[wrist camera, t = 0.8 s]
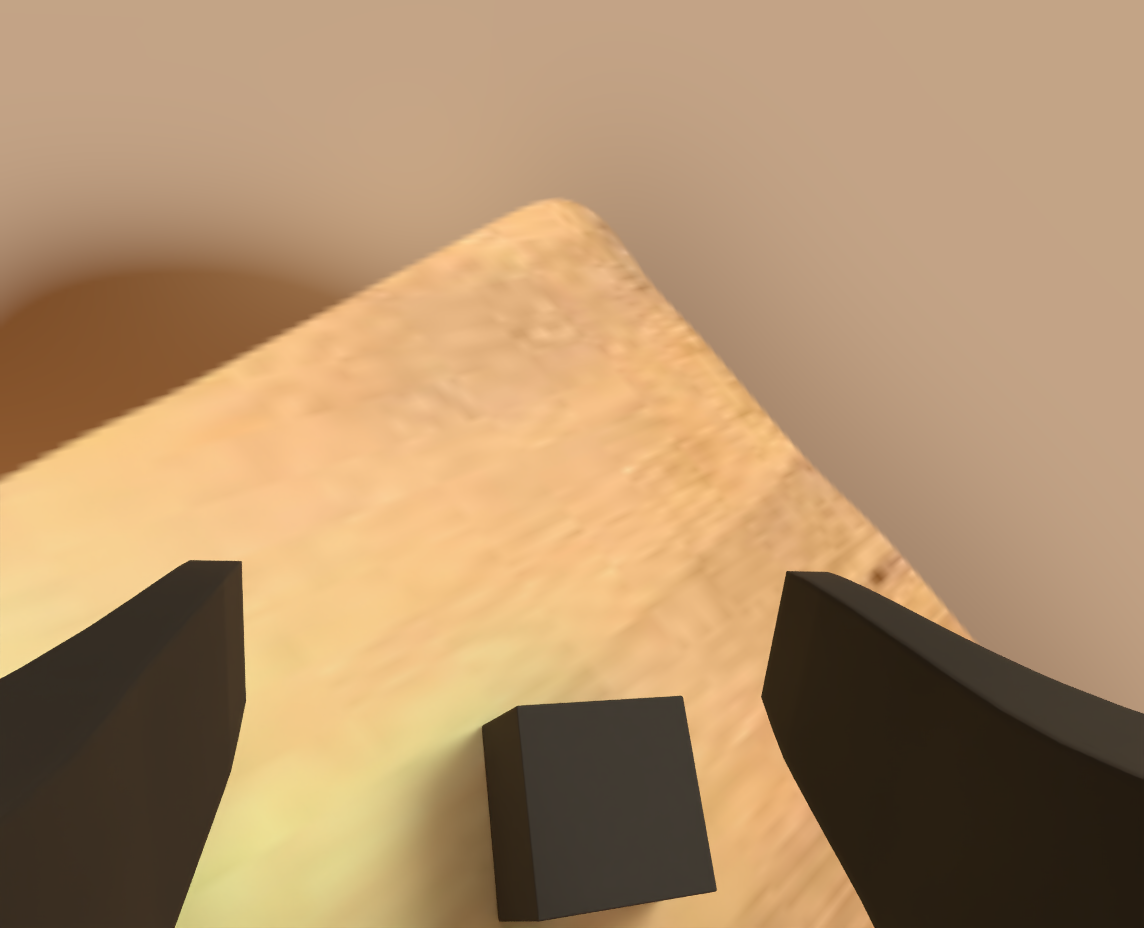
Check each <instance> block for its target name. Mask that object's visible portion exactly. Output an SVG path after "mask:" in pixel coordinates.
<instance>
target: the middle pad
mask: <svg viewBox="0 0 1144 928" xmlns="http://www.w3.org/2000/svg"><path fill="white" fill-rule="evenodd" d="M482 729H483V741H484V752H485V764H486V776H487V787H488V799H489V810H490V822H491V834H492V845H493V857H494V868H495V880H496V892H497V903H498V915H499V921H544V920H550V919H556V918H562V917H568V916H574V915H580V914H586V913H591V912H597V911H603V910H609V909H615V908H621V907H627V906H633V905H639V904H645V903H651V902H657V901H662V900H668V899H674V898H680V897H686V896H692V895H698V894H704V893H710V892H715V891H717V888H716V883H715V877H714V871H713V866H712V860H711V854H710V849H709V843H708V837H707V831H706V826H705V820H704V814H703V809H702V803H701V797H700V792H699V786H698V780H697V775H696V769H695V763H694V758H693V752H692V746H691V741H690V735H689V729H688V724H687V718H686V712H685V707H684V701H683V697H682V696H670V697H654V698H638V699H621V700H605V701H589V702H572V703H556V704H540V705H523V706H516V707H515V708H513V709H511V710H509V711H508V712H506V713H504V714H502V715H501V716H499V717H497V718H495V719H494V720H492V721H490V722H488V723H487V724H485V725H483V726H482Z"/></svg>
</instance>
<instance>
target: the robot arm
mask: <svg viewBox="0 0 1144 928" xmlns="http://www.w3.org/2000/svg"><path fill="white" fill-rule="evenodd" d="M761 698H762V700H763V703H764V706H765V709H766V712H767V715H768V718H769V721H770V724H771V726H772V729H773V732H774V735H775V737H776V740H777V742H778V745H779V748H780V750H781V753H782V755H783V758H784V760H785V762H786V764H787V766H788V768H789V770H790V772H791V773H792V775H793V777H794V779H795V781H796V783H797V785H798V787H799V788H800V790H801V792H802V794H803V796H804V798H805V800H806V801H807V803H808V805H809V807H810V809H811V811H812V812H813V814H814V816H815V818H816V820H817V821H818V823H819V825H820V827H821V829H822V830H823V832H824V834H825V836H826V838H827V840H828V841H829V843H830V845H831V847H832V849H833V850H834V852H835V854H836V856H837V858H838V859H839V861H840V863H841V865H842V867H843V868H844V870H845V872H846V874H847V876H848V878H849V879H850V881H851V883H852V885H853V887H854V888H855V890H856V892H857V894H858V896H859V897H860V899H861V901H862V903H863V905H864V907H865V909H866V911H867V913H868V915H869V917H870V919H871V921H872V923H873V925H874V927H875V928H1144V714H1143V713H1140V712H1137V711H1134V710H1131V709H1128V708H1126V707H1123V706H1120V705H1117V704H1114V703H1112V702H1110V701H1107V700H1104V699H1102V698H1099V697H1097V696H1094V695H1091V694H1089V693H1086V692H1084V691H1081V690H1079V689H1076V688H1074V687H1071V686H1068V685H1066V684H1063V683H1061V682H1058V681H1056V680H1054V679H1051V678H1049V677H1047V676H1044V675H1042V674H1040V673H1037V672H1035V671H1033V670H1031V669H1029V668H1026V667H1024V666H1022V665H1020V664H1018V663H1016V662H1013V661H1011V660H1009V659H1007V658H1005V657H1003V656H1000V655H998V654H996V653H994V652H992V651H990V650H988V649H986V648H984V647H982V646H980V645H978V644H976V643H974V642H972V641H970V640H967V639H965V638H963V637H961V636H960V635H958V634H956V633H954V632H952V631H950V630H948V629H946V628H944V627H942V626H940V625H938V624H936V623H934V622H932V621H930V620H928V619H926V618H924V617H922V616H921V615H919V614H917V613H915V612H913V611H911V610H909V609H907V608H905V607H903V606H901V605H899V604H897V603H895V602H894V601H892V600H890V599H888V598H886V597H884V596H882V595H880V594H878V593H876V592H874V591H872V590H870V589H868V588H866V587H863V586H861V585H859V584H857V583H855V582H853V581H850V580H848V579H846V578H843V577H841V576H838V575H835V574H832V573H829V572H799V571H787V572H786V577H785V582H784V587H783V592H782V597H781V601H780V606H779V611H778V616H777V621H776V626H775V631H774V636H773V641H772V646H771V651H770V656H769V661H768V666H767V671H766V676H765V681H764V686H763V691H762V696H761ZM245 703H246V688H245V656H244V623H243V591H242V561H201V560H190V561H188V562H186V563H184V564H182V565H181V566H179V567H177V568H176V569H174V570H173V571H171V572H170V573H168V574H167V575H165V576H164V577H162V578H161V579H159V580H158V581H156V582H155V583H154V584H152V585H151V586H149V587H148V588H146V589H145V590H143V591H142V592H140V593H139V594H138V595H136V596H135V597H133V598H132V599H130V600H129V601H127V602H126V603H124V604H123V605H121V606H120V607H118V608H117V609H115V610H114V611H112V612H111V613H109V614H108V615H106V616H105V617H103V618H102V619H100V620H99V621H97V622H96V623H94V624H93V625H91V626H90V627H88V628H86V629H85V630H83V631H81V632H80V633H78V634H76V635H75V636H73V637H71V638H70V639H68V640H66V641H65V642H63V643H61V644H60V645H58V646H56V647H55V648H53V649H51V650H50V651H48V652H46V653H45V654H43V655H41V656H40V657H38V658H36V659H35V660H33V661H31V662H30V663H28V664H26V665H25V666H23V667H21V668H19V669H18V670H16V671H14V672H12V673H10V674H8V675H7V676H5V677H3V678H1V679H0V928H175V925H176V922H177V920H178V917H179V914H180V911H181V909H182V906H183V903H184V900H185V898H186V895H187V892H188V889H189V887H190V884H191V881H192V878H193V876H194V873H195V870H196V867H197V865H198V862H199V859H200V856H201V854H202V851H203V848H204V845H205V843H206V840H207V837H208V834H209V832H210V829H211V826H212V823H213V820H214V818H215V815H216V812H217V809H218V806H219V804H220V801H221V798H222V795H223V792H224V790H225V787H226V784H227V781H228V778H229V775H230V772H231V769H232V764H233V760H234V755H235V751H236V746H237V742H238V737H239V732H240V727H241V722H242V718H243V713H244V708H245Z"/></svg>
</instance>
